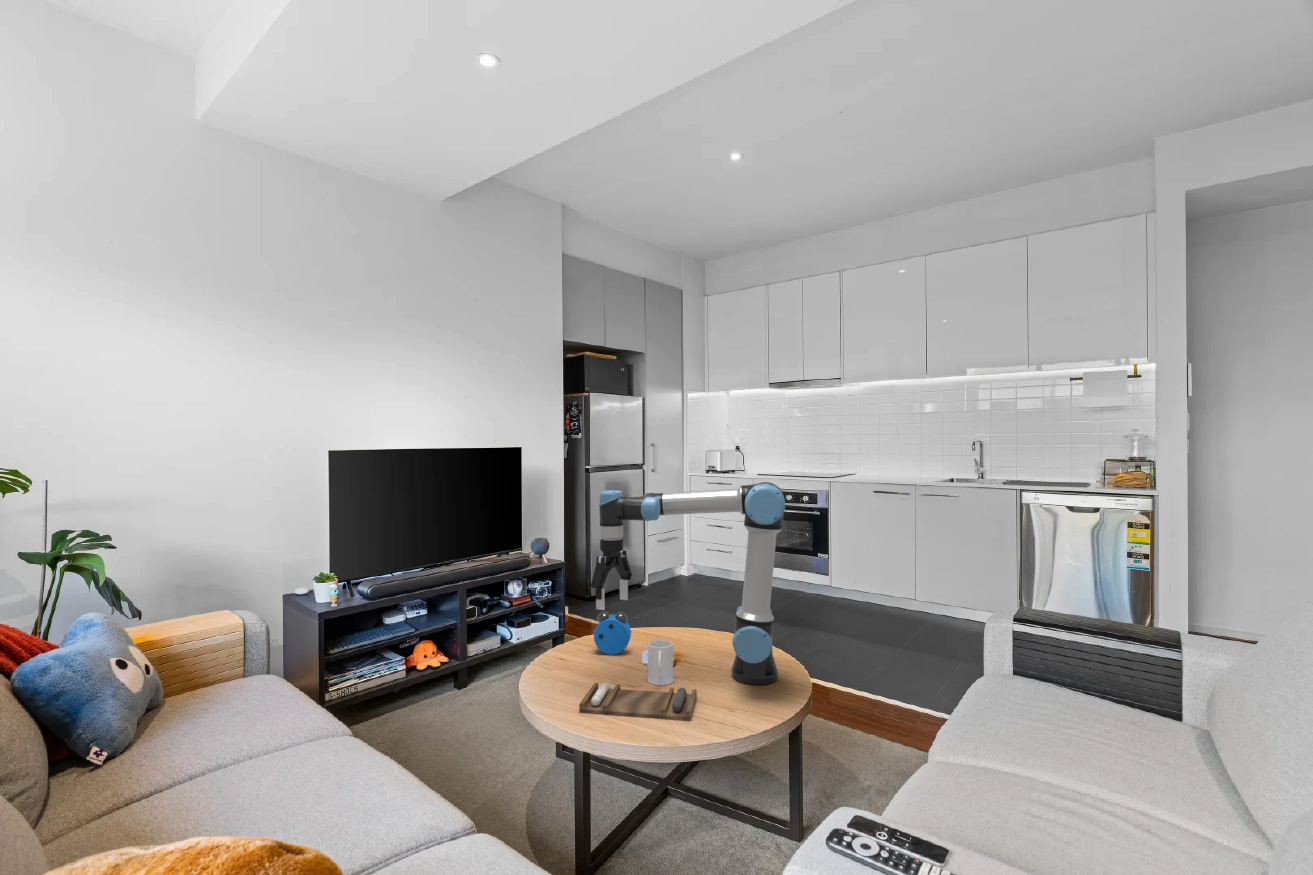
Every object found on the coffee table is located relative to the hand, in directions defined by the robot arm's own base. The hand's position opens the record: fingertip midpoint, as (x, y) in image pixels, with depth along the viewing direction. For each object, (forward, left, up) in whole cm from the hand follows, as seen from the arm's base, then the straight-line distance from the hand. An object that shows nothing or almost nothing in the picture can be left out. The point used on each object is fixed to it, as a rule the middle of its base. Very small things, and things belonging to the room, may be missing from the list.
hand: (612, 604), depth 202 cm
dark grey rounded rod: (-24, +15, -24) cm, 37 cm away
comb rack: (-12, +15, -25) cm, 32 cm away
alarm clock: (+7, -28, -25) cm, 38 cm away
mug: (-15, -3, -25) cm, 30 cm away
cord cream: (0, +15, -24) cm, 29 cm away
